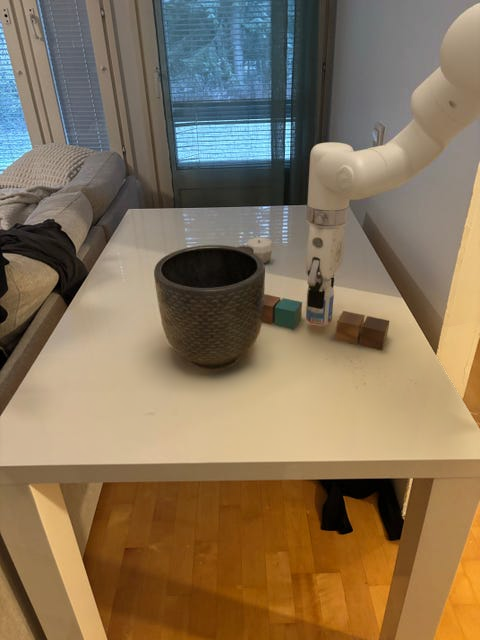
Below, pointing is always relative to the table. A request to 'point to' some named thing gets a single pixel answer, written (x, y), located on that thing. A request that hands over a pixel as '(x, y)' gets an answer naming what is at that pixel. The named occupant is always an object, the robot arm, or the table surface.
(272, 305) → the block
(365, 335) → the block
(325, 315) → the pill bottle
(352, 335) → the block
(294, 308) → the block
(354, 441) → the table surface
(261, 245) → the white pillar candle
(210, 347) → the planter
